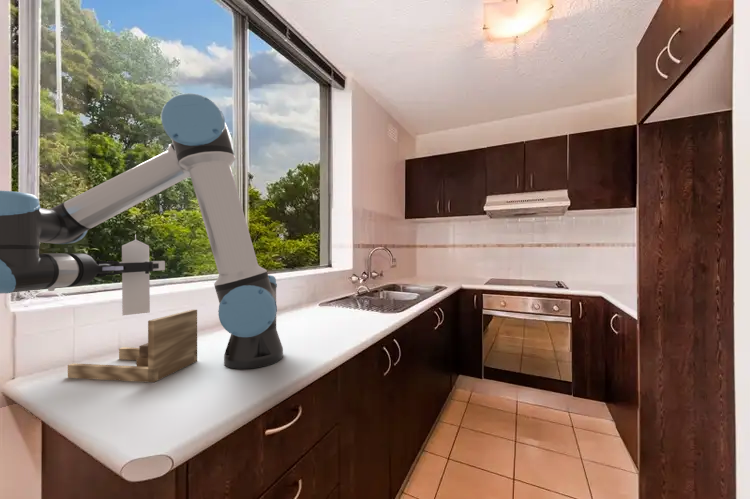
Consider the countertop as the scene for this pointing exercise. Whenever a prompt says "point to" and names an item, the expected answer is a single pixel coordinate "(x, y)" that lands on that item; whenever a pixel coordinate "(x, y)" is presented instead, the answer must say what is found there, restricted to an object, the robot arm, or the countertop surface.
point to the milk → (135, 280)
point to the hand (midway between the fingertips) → (149, 265)
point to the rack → (151, 352)
